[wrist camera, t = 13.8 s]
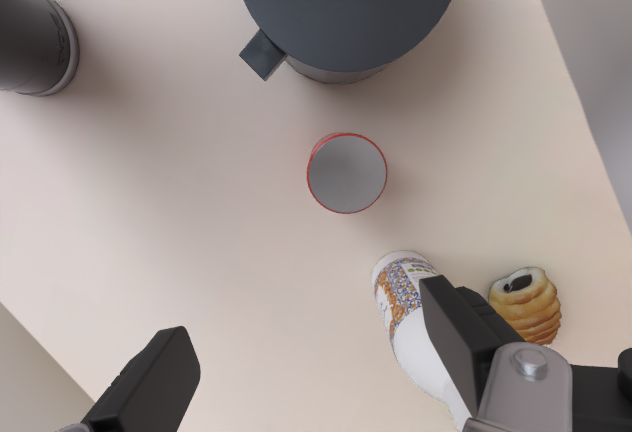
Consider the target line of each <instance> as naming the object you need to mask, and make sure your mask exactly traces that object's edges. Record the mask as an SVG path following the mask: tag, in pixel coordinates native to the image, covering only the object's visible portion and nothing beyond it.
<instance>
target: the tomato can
mask: <svg viewBox="0 0 632 432" xmlns="http://www.w3.org/2000/svg"><path fill="white" fill-rule="evenodd" d="M386 180H387V165H386V161H385V158H384V156H383V154H382V152H381V150H380V149H379V148H378V147H377V146H376V145H375V143H373V142H372V141H371V140H369V139H367V138H366V137H363V136H361V135H357V134H351V133H333V134H329V135H327V136H325V137H324V138H322V139H321V140H320V141H319V142H318V143H317V144H316V145H315V147H314V149H313V151H312V153H311V156H310V160H309V163H308V167H307V182H308V186H309V189H310V191H311V193H312V195H313V197H314V198H315V199H316V200H317V202H318V203H320V204H321V205H322V206H323V207H325V208H326V209H328V210H330V211H333V212H336V213H342V214H350V213H356V212H359V211H362V210H364V209H366V208H368V207H369V206H371V205H372V204H373V203H374V202H375V201H376V200H377V199H378V198H379V197H380V195H381V193H382V192H383V190H384V187H385V184H386Z"/></svg>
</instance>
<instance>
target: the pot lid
mask: <svg viewBox="0 0 632 432" xmlns="http://www.w3.org/2000/svg"><path fill="white" fill-rule="evenodd" d="M244 2H245V4H246V6H247V8H248V10H249V12H250V14H251V16H252V17H253V19H254V20H255V22H256V23H257V25H258V26H259V28H260V29H261V30H262V32H263V33H264V34H265V35H266V36H267V37H268V39H269V40H270V41H271V42H272V43H273V44H275V45H276V46H277V47H278V48H279V49H280V50H281V51H283V52H284V53H285V54H287V55H288V56H290V57H291V58H293V59H294V60H296V61H298V62H300V63H302V64H304V65H306V66H309V67H312V68H315V69H318V70H322V71H327V72H332V73H358V72H364V71H369V70H373V69H376V68H379V67H381V66H384V65H387V64H389V63H391V62H393V61H395V60H396V59H398V58H400V57H402V56H403V55H405V54H406V53H407V52H409V51H410V50H411V49H413V48H414V47H415V46H416V45H417V44H418V43H420V42H421V41H422V40H423V39H424V38H425V37H426V36H427V35H428V34H429V33H430V31H431V30H432V29H433V28H434V27H435V25H436V24H437V23H438V21H439V20H440V18H441V17H442V15H443V14H444V12H445V11H446V9H447V7H448V6H449V4H450V2H451V0H244Z"/></svg>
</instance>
